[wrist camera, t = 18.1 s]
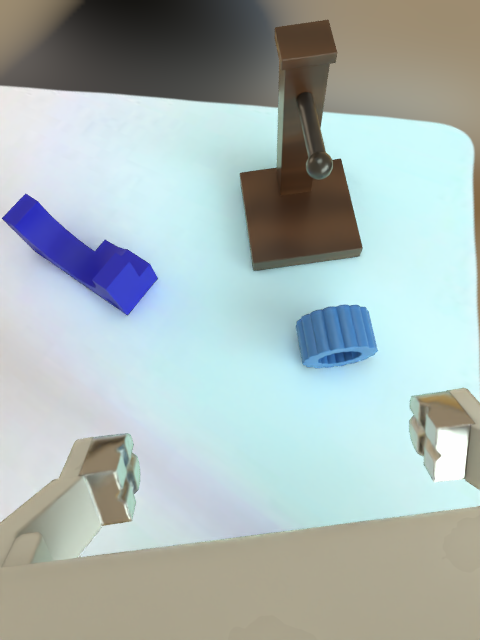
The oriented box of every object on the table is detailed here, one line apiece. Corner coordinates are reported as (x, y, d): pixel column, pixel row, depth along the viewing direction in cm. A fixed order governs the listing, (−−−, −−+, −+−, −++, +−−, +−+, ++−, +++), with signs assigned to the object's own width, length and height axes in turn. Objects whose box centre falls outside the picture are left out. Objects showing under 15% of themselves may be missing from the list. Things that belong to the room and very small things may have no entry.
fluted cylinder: (360, 364, 40) (390, 343, 34) (294, 370, 39) (314, 350, 33) (352, 328, 41) (380, 302, 36) (288, 333, 40) (306, 307, 35)
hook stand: (359, 257, 43) (412, 125, 27) (253, 272, 43) (244, 149, 27) (338, 168, 46) (374, 5, 30) (240, 182, 46) (225, 27, 31)
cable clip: (157, 278, 43) (141, 247, 38) (127, 315, 42) (105, 289, 37) (65, 218, 46) (37, 181, 41) (35, 251, 45) (1, 218, 40)
